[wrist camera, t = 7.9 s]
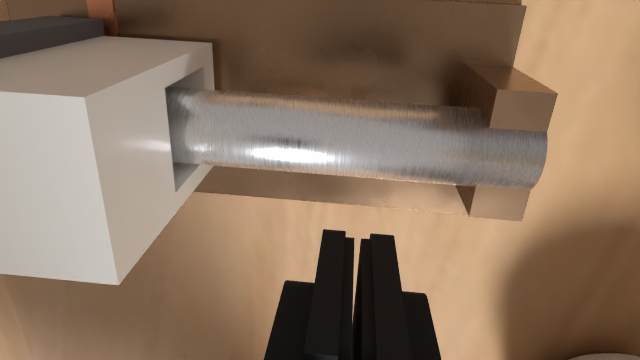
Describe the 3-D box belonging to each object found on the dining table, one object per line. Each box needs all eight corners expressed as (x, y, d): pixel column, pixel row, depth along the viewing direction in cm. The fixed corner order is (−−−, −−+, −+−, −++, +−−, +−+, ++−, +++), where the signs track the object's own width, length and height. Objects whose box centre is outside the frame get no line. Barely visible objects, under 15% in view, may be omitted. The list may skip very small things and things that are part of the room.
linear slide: (521, 5, 19) (589, 16, 13) (475, 209, 23) (511, 283, 17) (10, -24, 20) (-126, -25, 14) (55, 174, 24) (-37, 232, 19)
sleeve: (218, 159, 22) (118, 285, 13) (120, 152, 22) (-43, 269, 13) (212, 42, 19) (84, 97, 10) (102, 36, 20) (-112, 83, 11)
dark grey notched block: (124, 163, 22) (-11, 268, 14) (77, 159, 23) (-83, 261, 14) (102, 18, 19) (-84, 48, 11) (49, 15, 20) (-173, 42, 11)
